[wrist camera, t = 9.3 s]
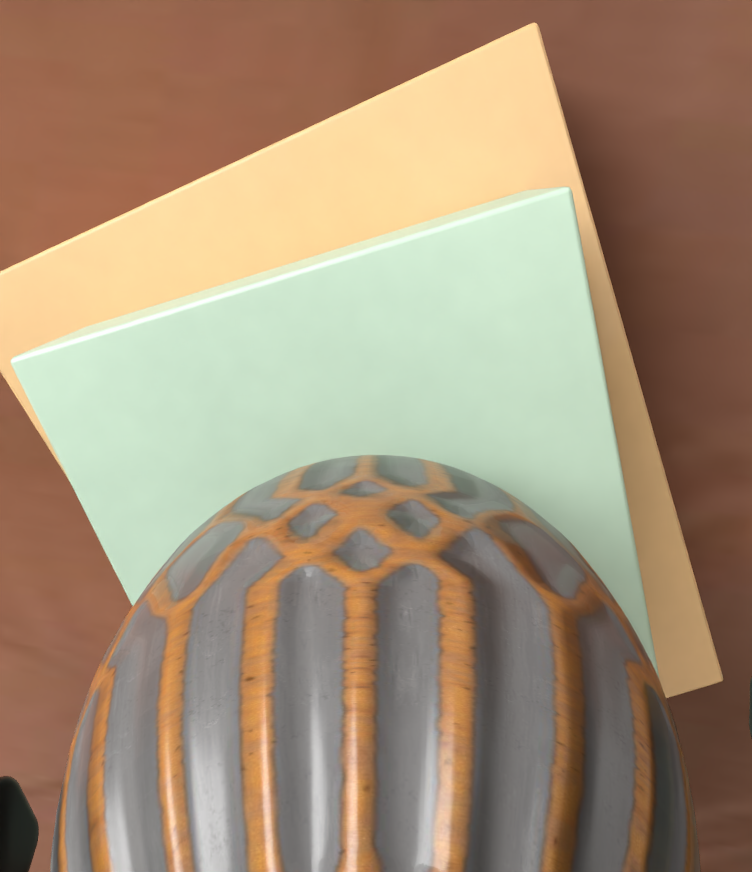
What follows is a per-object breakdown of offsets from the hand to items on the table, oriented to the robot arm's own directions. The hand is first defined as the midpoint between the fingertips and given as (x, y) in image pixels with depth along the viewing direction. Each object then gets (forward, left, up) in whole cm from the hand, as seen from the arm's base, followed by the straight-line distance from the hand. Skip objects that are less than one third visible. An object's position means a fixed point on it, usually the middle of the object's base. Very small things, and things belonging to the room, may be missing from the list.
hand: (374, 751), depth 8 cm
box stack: (0, 0, -10) cm, 10 cm away
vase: (0, 0, -4) cm, 4 cm away
